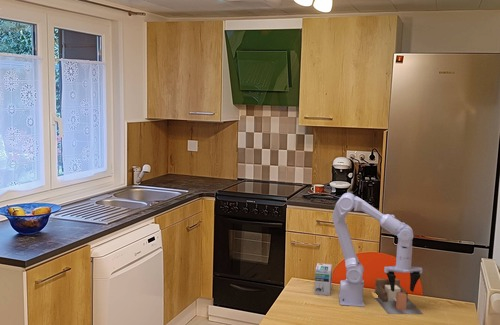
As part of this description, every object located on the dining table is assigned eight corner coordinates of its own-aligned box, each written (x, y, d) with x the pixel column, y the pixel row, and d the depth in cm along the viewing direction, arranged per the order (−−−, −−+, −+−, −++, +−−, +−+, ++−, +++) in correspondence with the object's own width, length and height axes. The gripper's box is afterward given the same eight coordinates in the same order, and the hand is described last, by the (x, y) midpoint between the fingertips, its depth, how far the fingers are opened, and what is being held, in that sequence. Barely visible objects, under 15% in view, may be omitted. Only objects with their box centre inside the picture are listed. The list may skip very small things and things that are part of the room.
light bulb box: (330, 296, 224) (331, 270, 223) (313, 294, 225) (315, 269, 224) (331, 288, 234) (332, 263, 233) (316, 286, 235) (317, 262, 234)
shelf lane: (387, 314, 205) (388, 298, 204) (369, 292, 230) (370, 278, 229) (423, 314, 206) (424, 299, 205) (402, 293, 231) (402, 278, 230)
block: (395, 309, 210) (396, 294, 209) (384, 296, 225) (384, 282, 224) (408, 309, 210) (409, 294, 209) (395, 296, 225) (396, 282, 224)
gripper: (388, 259, 205) (386, 293, 206) (426, 259, 206) (424, 294, 207) (383, 254, 212) (381, 287, 213) (419, 254, 213) (417, 288, 214)
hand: (402, 290), depth 211 cm, fingers open, 7 cm apart
